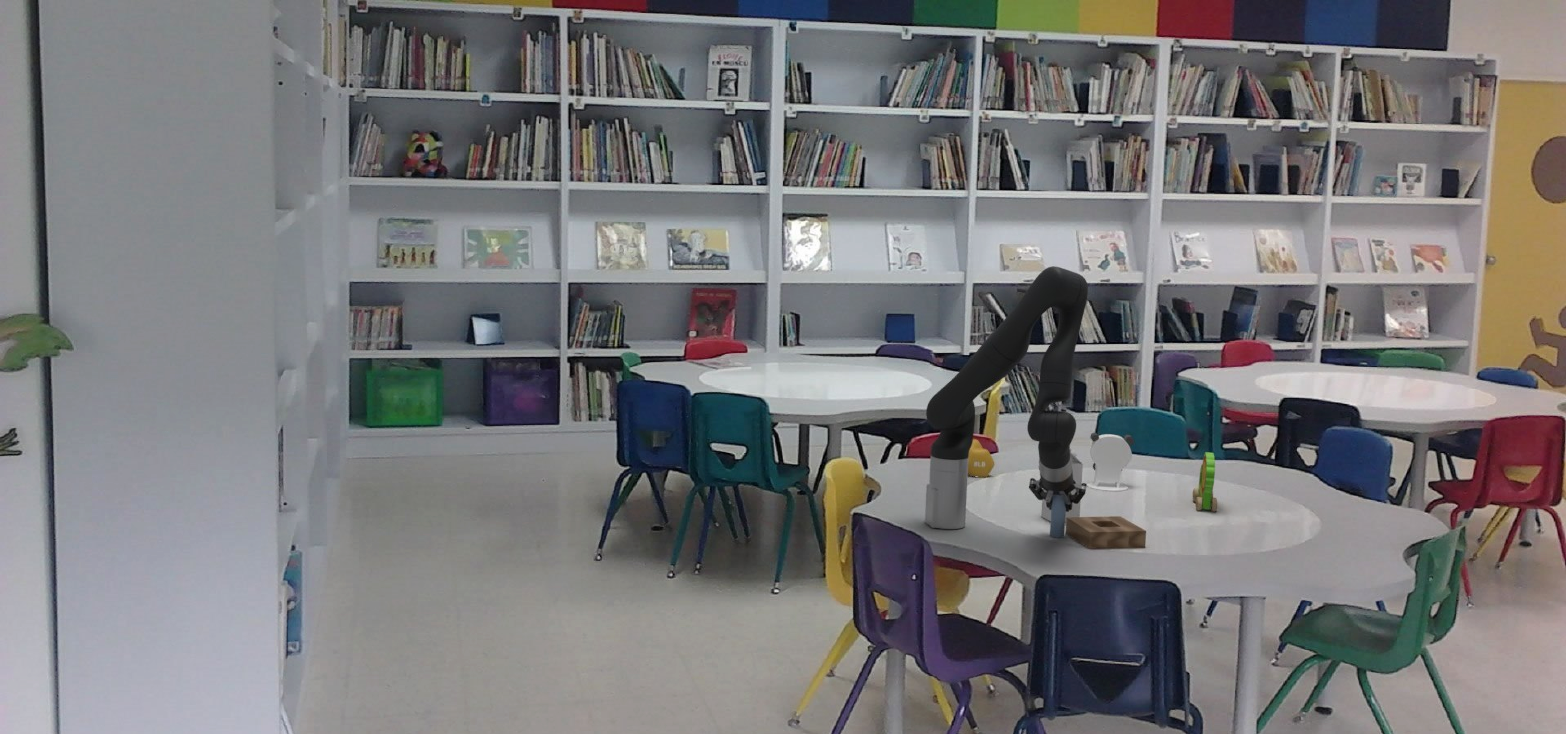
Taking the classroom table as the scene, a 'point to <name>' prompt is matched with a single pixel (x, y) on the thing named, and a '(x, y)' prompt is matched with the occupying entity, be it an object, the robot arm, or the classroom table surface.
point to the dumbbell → (979, 460)
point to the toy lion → (1206, 485)
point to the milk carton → (1077, 477)
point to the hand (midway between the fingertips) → (1059, 507)
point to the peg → (1057, 516)
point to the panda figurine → (1109, 461)
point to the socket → (1105, 532)
